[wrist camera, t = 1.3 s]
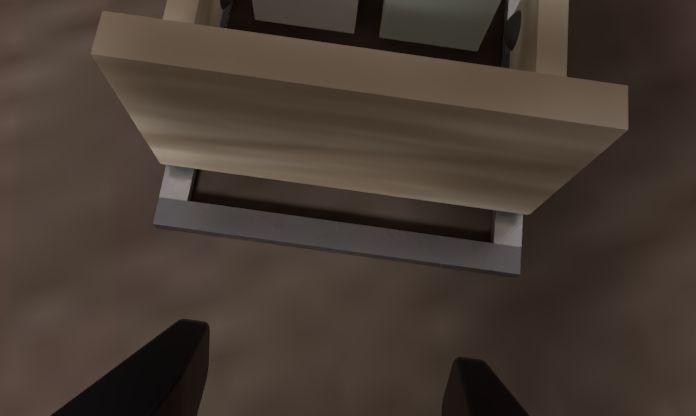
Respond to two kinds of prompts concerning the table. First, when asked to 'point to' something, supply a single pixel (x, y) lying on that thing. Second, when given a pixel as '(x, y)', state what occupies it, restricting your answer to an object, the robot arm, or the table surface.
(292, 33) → the table surface
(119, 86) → the toy sofa
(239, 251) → the table surface
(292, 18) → the cream block
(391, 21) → the sage block
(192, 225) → the steel handle
